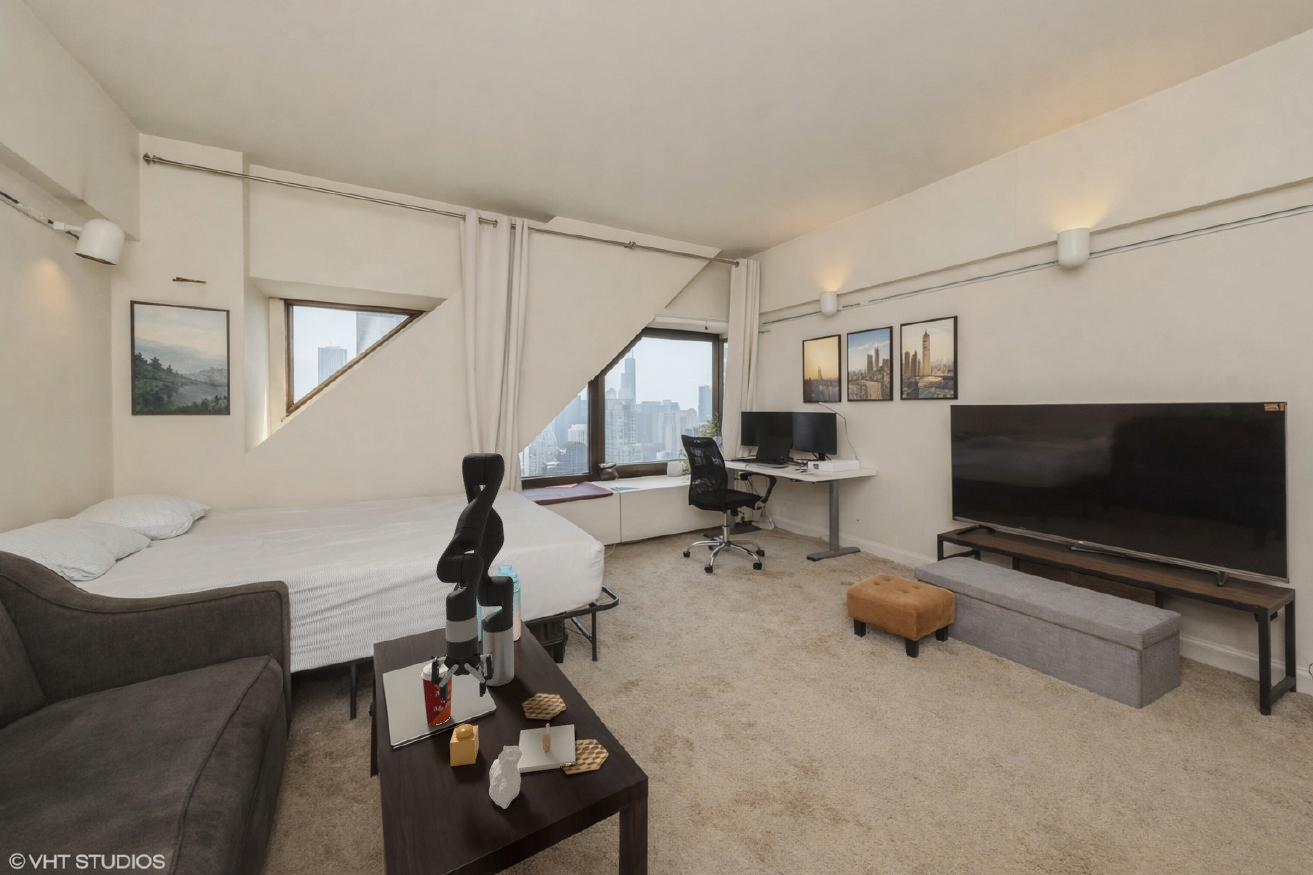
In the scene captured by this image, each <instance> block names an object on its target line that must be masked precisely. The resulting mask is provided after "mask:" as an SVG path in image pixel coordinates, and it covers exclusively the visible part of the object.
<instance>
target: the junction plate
mask: <svg viewBox="0 0 1313 875" xmlns="http://www.w3.org/2000/svg"><path fill="white" fill-rule="evenodd" d="M575 740H576V739H575V724H565V725H556V726H550V723H546V724H545V727H540V728H538V727H537V728H529V729H521V730H520V734H519V742H518V747H519V749H520V751H521V752H522V756H521V758H520V760H519V762H518V764H517V767H518V768H519V770H520V774H521V773H527V772H536V771H543V770H544V771H545V770H551V769H560V764H564V763H575V764H576V745H575V744H576V741H575Z"/></svg>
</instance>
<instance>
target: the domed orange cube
mask: <svg viewBox="0 0 1313 875" xmlns="http://www.w3.org/2000/svg"><path fill="white" fill-rule="evenodd" d="M479 746H480V745H479V725H472V724H469V723H465V724H464V723H463V724H461V725H459V726H457V727H454V730H453V732H452V736H451V739H450V742H449V751H450V752H449V753H450V767H456V766H464V765H473V764H476V759H477V756H478V752H479Z"/></svg>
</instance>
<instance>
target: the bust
mask: <svg viewBox="0 0 1313 875" xmlns="http://www.w3.org/2000/svg"><path fill="white" fill-rule="evenodd" d="M502 748H503V749H502V751H501V752H500V753H499V754H498V756H497V757H498V758H497V759H495V760H494V761H493V763H492V765H491V767H490V769H489V772H488V773H489V784H490V786H489V790H488V795H489V797H490V798H491V800H492V801H493V802H494V803H495V805H496V806H500V807H501V809H503V810H505V809H508V807H509V805H510V804H511V802H512V801H513V800H514V799H516V798H517V797H518V795H519V793H520V789H521V782H522V778H521V773H520V770H519V768H518V767H517V764H518V762H519V760H520V758H521V756H522V752H521V751H520V749H519V745H503V747H502Z"/></svg>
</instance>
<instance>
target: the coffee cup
mask: <svg viewBox="0 0 1313 875" xmlns="http://www.w3.org/2000/svg"><path fill="white" fill-rule="evenodd" d="M447 670H448V668H447V667H446V666H445V665H444V664H442V666H441V668H439V677H443V676H444V675H445V673H446V672H447ZM431 675H432V662H431V663H428V664H426V665H425V666H424V667H423V669H422V672H421V674H420V676H421V678H422V685H423V695H424V706H425V715H426V723H427V724H428V725H429V724H430V725H429V726H432V725H436V724H440V723H443V722H445V721H446V720H447V719H449V717H450V718H451V714H452V712H451V711H452V710H451V709H452V692H453V691H452V689H453V688H452V684H453V675H452V676H451V678H450V679H449V680H448V681H447V682H448V698H447V700H446V701H443V699H441V697H440V686H439V685H432V684H431ZM449 720H450V719H449ZM445 723H446V722H445Z"/></svg>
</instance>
